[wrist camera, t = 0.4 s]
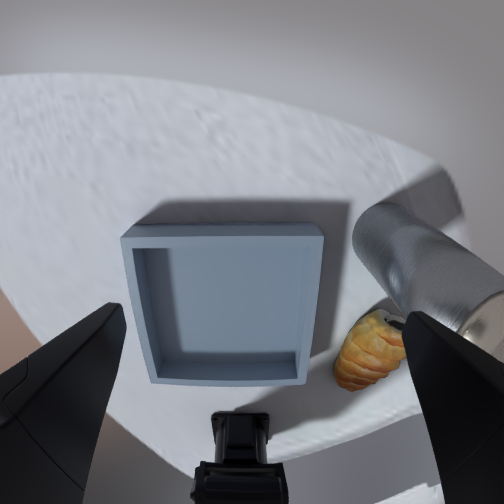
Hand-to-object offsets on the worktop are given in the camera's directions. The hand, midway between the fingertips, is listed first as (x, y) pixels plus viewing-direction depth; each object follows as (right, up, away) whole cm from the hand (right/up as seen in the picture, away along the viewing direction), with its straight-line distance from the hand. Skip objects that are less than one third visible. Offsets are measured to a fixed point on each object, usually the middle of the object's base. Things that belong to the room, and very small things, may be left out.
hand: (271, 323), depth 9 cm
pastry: (+11, -7, +20) cm, 24 cm away
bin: (-3, -2, +17) cm, 18 cm away
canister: (+10, +3, +15) cm, 19 cm away
